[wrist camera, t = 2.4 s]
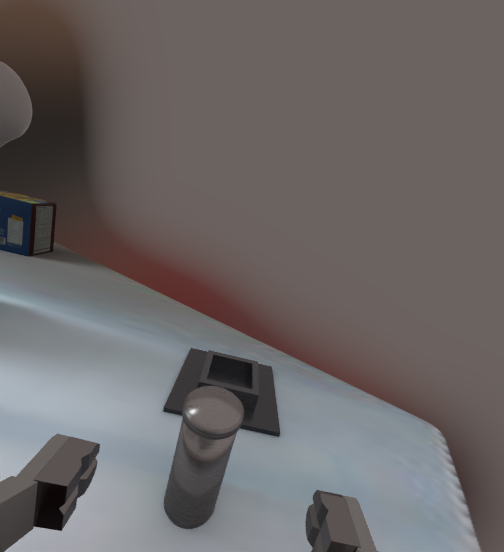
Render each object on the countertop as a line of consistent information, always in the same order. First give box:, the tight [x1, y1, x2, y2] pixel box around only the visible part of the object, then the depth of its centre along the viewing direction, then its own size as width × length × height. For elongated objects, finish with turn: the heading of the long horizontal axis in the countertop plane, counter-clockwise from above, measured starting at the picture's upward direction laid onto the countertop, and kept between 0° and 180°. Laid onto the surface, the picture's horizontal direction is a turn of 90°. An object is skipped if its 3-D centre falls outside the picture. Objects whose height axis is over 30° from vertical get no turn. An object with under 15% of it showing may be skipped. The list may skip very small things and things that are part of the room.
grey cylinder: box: [164, 386, 244, 529], centre depth 25 cm, size 5×5×11 cm
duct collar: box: [163, 348, 280, 436], centre depth 43 cm, size 16×16×3 cm
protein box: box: [0, 190, 56, 256], centre depth 79 cm, size 10×15×16 cm
